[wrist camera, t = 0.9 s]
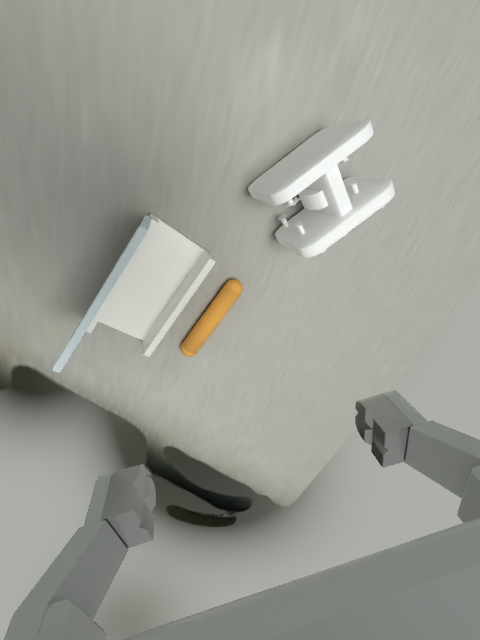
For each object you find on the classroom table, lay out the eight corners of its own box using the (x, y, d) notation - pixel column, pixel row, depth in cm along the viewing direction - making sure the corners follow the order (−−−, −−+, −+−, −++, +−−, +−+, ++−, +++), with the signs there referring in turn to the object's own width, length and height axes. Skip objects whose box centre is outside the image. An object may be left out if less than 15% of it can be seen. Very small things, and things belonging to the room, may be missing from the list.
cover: (82, 330, 40) (76, 327, 39) (151, 218, 36) (145, 214, 35) (59, 373, 31) (51, 370, 31) (148, 231, 27) (140, 225, 27)
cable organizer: (326, 121, 41) (384, 110, 32) (349, 188, 47) (404, 196, 37) (242, 186, 42) (273, 194, 32) (275, 244, 48) (310, 266, 38)
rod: (176, 346, 51) (178, 356, 49) (229, 273, 48) (234, 279, 45) (190, 352, 53) (193, 362, 50) (242, 282, 49) (248, 289, 47)
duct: (88, 314, 44) (82, 330, 40) (150, 212, 40) (152, 218, 36) (148, 340, 49) (149, 357, 45) (208, 252, 45) (216, 261, 41)
